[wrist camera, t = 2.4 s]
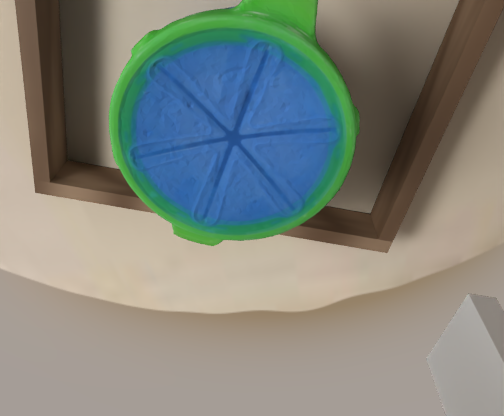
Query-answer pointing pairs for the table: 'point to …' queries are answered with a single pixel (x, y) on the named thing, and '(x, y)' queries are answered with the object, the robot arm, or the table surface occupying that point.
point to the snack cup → (234, 121)
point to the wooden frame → (328, 218)
